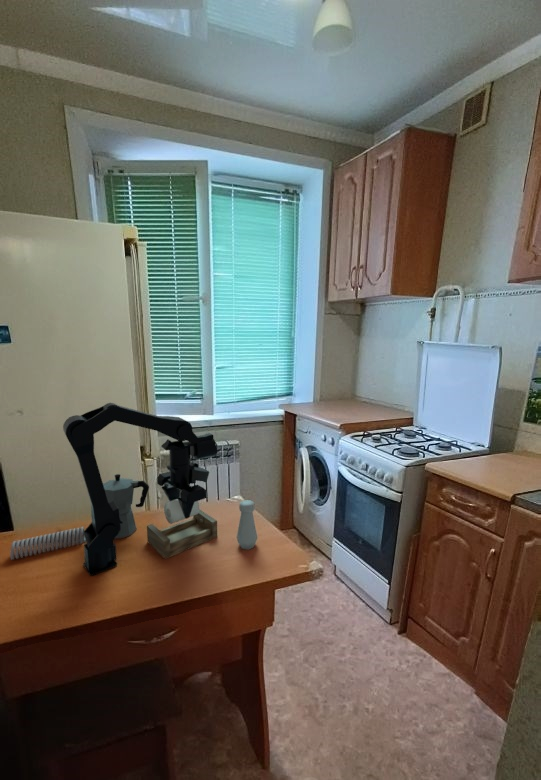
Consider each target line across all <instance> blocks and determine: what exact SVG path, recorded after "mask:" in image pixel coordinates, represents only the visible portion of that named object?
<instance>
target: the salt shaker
mask: <svg viewBox="0 0 541 780" xmlns="http://www.w3.org/2000/svg"><path fill="white" fill-rule="evenodd" d="M238 505H239V506H238V507H239V511H240V518H239V523H238V527H237V528H238V529H237V534H236V540H237V543H238V546H240V548H241V549H242V550H251V549H253V548H254V547H255V545H256V543H257V540H258V534H257V528H256V524H255V516H254V511H255V507H256V506H255V502H254V501H252V500H250V499H249V500H248V499H246V500H245V499H244V500H242V501H241V502H240V503H239V504H238Z"/></svg>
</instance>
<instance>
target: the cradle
mask: <svg viewBox="0 0 541 780" xmlns="http://www.w3.org/2000/svg"><path fill="white" fill-rule="evenodd" d="M146 536H147V537H146V540H147V543H148V544H149V545H150V546H151V547H152V548H153V549H154V550H155V551H157V553H158V554H159V555H160V556H161V557H162V558H163V559H165V560H167V559H168V558H170V557H173V556H175V555H178V554H180V553H182V552H185V551H187V550H190V549H191V548H194V547H196V546H198V545H201V544H203V543H207V542H208V541H211V540H213V539H215V538H217V537H218V520H217V519H215V518H214V517H212V516H211V515H209V514H208V513H206V512H205V511H203V510H202V509H200V508H199V513H198V514H197V515H194V516H192V517H191V518H188V519H187V520H186V519H185V520H184V521H181V522H179V523H176V524H175V523H174V524H172V525H170V526H168V527H167V526H166V527H165V528H162V529H159V528H158V527H157V526H155V525H154V524H153V523H149V524H148V525H146Z"/></svg>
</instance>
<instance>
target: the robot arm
mask: <svg viewBox="0 0 541 780" xmlns="http://www.w3.org/2000/svg"><path fill="white" fill-rule="evenodd" d="M113 422H119V423H122V424H127V425H131V426H136V427H140V428H144V429H149V430H151V431H152V430H153V431H156V432H158V433H161V434H163V435H165V436H167V437H170V438H171V439H173V440H175V441H173V440H172V441H171V440H170V439H168V438H167V439H166V441H165V442H163V444H161V448H162V449H163V450H165V451H169V464H168V465H166V470H168V471H166V472H164V473H163V472H162V473H159V475H158V476H157V478H156V483H157V485H159V486H160V487H161V489H162V491H163V493H164V494H165V496H166V497H167V500H168V502H169V501H172V500H176V499H178V501H179V503H180V506H181V509H182V512H183V514H184V517H185V518H186V519H187V520H188V519H190V518H191V517H190V514H191V511H192V507H193V505H194V502H196V501H198V502H199V501H202V500H205V499H207V498H208V491H207V489H206V488H204V487H202V486H201V485H199V484H196V482H197V481H198V482H203V483H207V482H208V479H209V476H210V475H209V474H210V471H209V470H207V469H205V468H203V467H200V466H199V463H197V462H194V461H193V462H192V461H191V457H192V458H194V459H195V460H201V459H206V458H212V457H216V455H217V453H218V446H217V443H216V440H215V438H214V434H212V433H206V434H201V435H196V434H195V432H194V431H193V426H192V424H191V422H190V421H188V420H186V419H184V418H182V417H179V416H173V415H172V416H170V415H163V416H162V415H155V414H153V413H148V412H144V411H140V410H136V409H133V408H128V407H125V406H121V405H118V404H116V403H115V402H107V403H105V404H104V405H103V406H100V407H98V408H95V409H92V410H89V411H87V412H85V413H83V414H81V415H80V414H79V415H78V414H77V415H76V414H75V415H72V416H70V417H68V418H67V419H66V420H65V421H64V423H63V425H62V428H63V429H62V430H63V432H64V435H65V436H66V439H67V441H68V442H69V444H70V446H71V448H72V450H73V452H74V453H75V455H76V457H77V461H78V464H79V467H80V470H81V473H82V474H81V475H82V477H83V480H84V483H85V487H86V490H87V494H88V497H89V501H90V504H91V505H90V515H91V516H90V517H91V522H90V524H89V525H88V526H87V527H86V529H85V528H84V530H85V531H84V532H83V533H84V536H85V539H86V543H84V545H83V549H84V550H83V551H84V561H83V567H84V568H85V570H86V572H87V573H88V575H89V576H91V577H92V576H94V575H97V574H100V573H102V572H105V571H107V570H109V569H112V568H115V567H117V566H118V562H117V561H116V560H117V546H116V544H115V543H114V542H115V540H116V539H115V537H116V536H117V535H118V533H119V532H120V529H121V527H120V524H122V523H123V522H122V520H121V519H120V517H119V509H118V507H117V506H116V504H115V502H114V501H112V502H110V503H108V500H107V496H106V493H105V489H104V486H103V483H104V482H103V480H102V476H101V472H100V469H99V466H98V462H97V459H96V456H95V455H96V454H95V434H96V433H98V432H100V431H101V430H103V429H104V428H106V427H107V426H108V425H110V424H111V423H113ZM193 484H195V485H193ZM186 519H185V520H186Z"/></svg>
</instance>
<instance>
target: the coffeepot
mask: <svg viewBox="0 0 541 780" xmlns="http://www.w3.org/2000/svg"><path fill="white" fill-rule="evenodd" d="M102 483H103V486H104V489H105V493H106V496H107V500H108V503H110V502H112V501H114V502H115V504H116V506H117V507H118V509H119V517H120V519H121V520H122V522H123V523H122V524H120V527H121V529H120V532H119V533H118V535H117V536H116V537H115V539H114V540H117V539H124V538H127V537H130V536H131V535H132V534H134V533H135V532H136V530H137V525H136V521H135V517H134V513H133V510H132V509H133V508H132V505H133V501H134V500H133V498H134V491H135V489H137V488H142V490H141V496H140V498H139V503H135V508H143V506H144V504H145V501H146V497H147V496H148V492H149V489H150V486H149V484H148V483H146V482H145V481H144V480H133V479H131V478H124V477H121V474H119V473H117V474H114V479H111V480H108V481H106V482H102Z"/></svg>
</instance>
